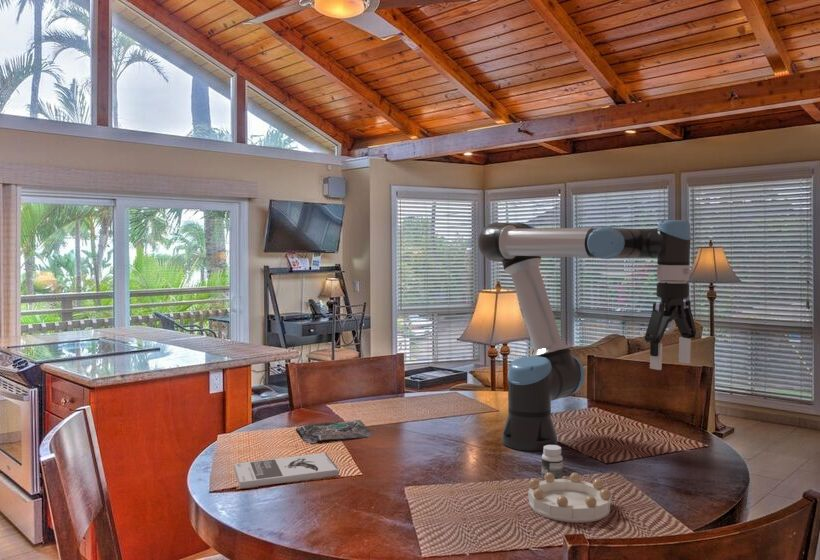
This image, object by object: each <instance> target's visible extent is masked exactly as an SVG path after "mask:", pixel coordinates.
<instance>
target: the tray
mask: <svg viewBox="0 0 820 560" xmlns="http://www.w3.org/2000/svg"><path fill="white" fill-rule="evenodd" d="M544 479H545V480H544V481H542V480H540V481H539V480H538V479H537V478H532V479H530V480H529V482H528V485H529V489H528V491H527V496H528V497H527V499H528V505H530V506H529V508H530V507H531V508H532V509H533V510H534V511H535V512H534V511H533V510H532V509H531V508H530V509H531V510H532V511H533V512H534V513H536V512H537V513H538V514H537V513H536V514H537V515H539V514H540V515H539V516H541V515H542V516H541V517H543V518H546V519H550V520H553V521H557V522H564V523H572V524H579V523H580V524H582V523H583V524H584V523H586V524H587V523H592V522H598V521H601V520H603V519H606V518H607V517H608V516H609V515H610V513H611V503H612V502H611V501H612V497H611V496H612V492H611V491H610V490H609V489H608V488H604V481H603V480H601V479H600V478H595V479H594V480H593V482H592V483H591V482H588V481H585V480H581V476H580V474H579V473H578V472H572V473H570V476H569V478H563V479H555V477H554V475H553V474H552V473H550V472H548V473H546V474H545V476H544Z"/></svg>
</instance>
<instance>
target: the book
mask: <svg viewBox="0 0 820 560" xmlns="http://www.w3.org/2000/svg"><path fill="white" fill-rule="evenodd" d="M233 469H234V473H235V475H236V480H237V484H238V487H239V489H247V488H248V489H249V488H253V487H262V486H268V485H277V484H283V483H292V482H293V483H294V482H298V481H300V482H301V481H306V480H314V479H320V478H327V477H328V478H329V477H336V476H337V477H338V476H339V474H340V473H339V468H338V467H337V466H336V465H335V463H334V462H333V460H332V459H331V458H330V457H329V455H328V454H327V453H326V452H320V453H313V454H312V453H311V454H303V455H302V454H301V455H296V456H295V455H294V456H287V457H279V458H270V459H263V460H262V459H261V460H254V461H253V460H252V461H245V462H237V463H234V464H233Z"/></svg>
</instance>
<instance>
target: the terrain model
mask: <svg viewBox="0 0 820 560" xmlns="http://www.w3.org/2000/svg"><path fill="white" fill-rule="evenodd" d="M295 432H296V433H297V434H298V436H300V438H301V440H302V441H303V443H305V442H306V443H305V444H308V443H310V444H309V445H316V444H315V443H318V444H323V443H322V442H326V443H331V442H330V441H335V442H342V441H349V440H359V439H368V438H369V437H372V436H373V433H372V431H370V430H369V428H368V427H367V426H366V425H365V423H364V422H363V421H362V420H361V419H353V420H347V421H337V422H327V421H325V422H320V423H311V424H307V425H303V426H300V427H297V428H295Z"/></svg>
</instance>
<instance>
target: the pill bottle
mask: <svg viewBox="0 0 820 560" xmlns="http://www.w3.org/2000/svg"><path fill="white" fill-rule="evenodd" d="M542 452H543V453H542V455H541V481H544V480H545V479H544V476H545V474H546V473H548V472H550V473H552V474H553V475H554V477H555V479H564V477H563V473H564V472H563V470H564V467H563V465H564V462H563V461H564V458H563V455H561V454H562V447H561V446H560V445H558V444H557V445H545V446H544V448H543V451H542Z"/></svg>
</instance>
